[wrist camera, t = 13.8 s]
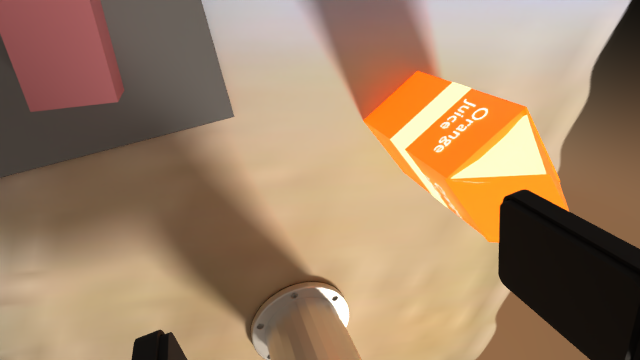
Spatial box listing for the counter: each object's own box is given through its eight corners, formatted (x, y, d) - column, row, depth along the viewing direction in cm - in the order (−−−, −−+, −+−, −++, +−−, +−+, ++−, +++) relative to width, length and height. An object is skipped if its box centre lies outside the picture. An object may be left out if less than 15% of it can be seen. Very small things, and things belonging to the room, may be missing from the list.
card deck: (92, -30, 27) (80, -33, 24) (124, 89, 31) (118, 102, 28) (2, -27, 26) (-25, -30, 23) (47, 98, 30) (30, 111, 26)
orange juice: (417, 69, 40) (599, 128, 23) (454, 127, 44) (628, 213, 27) (361, 121, 40) (498, 217, 23) (402, 174, 45) (542, 286, 28)
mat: (233, 114, 36) (234, 116, 35) (-9, 177, 31) (-12, 180, 31) (163, -130, 27) (163, -132, 26) (-182, -87, 23) (-190, -89, 22)
